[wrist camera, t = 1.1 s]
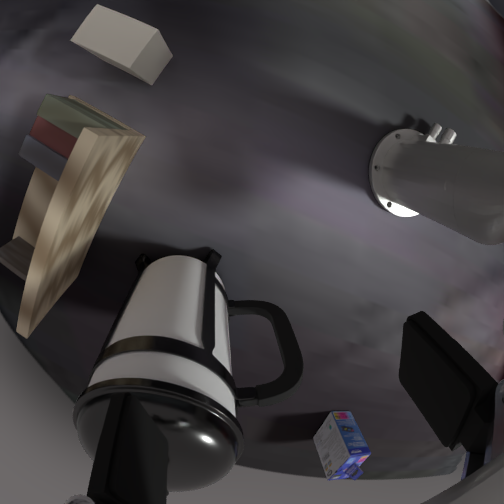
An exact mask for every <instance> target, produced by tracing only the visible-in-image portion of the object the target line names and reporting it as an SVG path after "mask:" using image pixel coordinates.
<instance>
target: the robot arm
mask: <svg viewBox="0 0 504 504" xmlns="http://www.w3.org/2000/svg"><path fill="white" fill-rule="evenodd" d="M441 130H442V127H441V126H440V125H439V124H437V123H434V124H433V126H432V127H431V129H430V132H429V133H428V134H426V135H424V134H422V133H420V132H418V131H416V130H412V129H397V130H394V131H392V132H390V133H388V134H387V135H385V136H384V137H383V138H382V139H381V140H380V141H379V142H378V144H377V145H376V147H375V149H374V151H373V153H372V156H371V160H370V164H369V181H370V185H371V190H372V192H373V194H374V196H375V198H376V200H377V201H378V203H379V204H380V205H381V206H382V207H383V208H384V209H385V210H387V211H388V212H390V213H392V214H394V215H396V216H401V217H411V216H415V215H417V214H421V215H423V216H425V217H427V218H429V219H431V220H433V221H436V222H438V223H440V224H442V225H444V226H446V227H448V228H450V229H452V230H454V231H456V232H458V233H460V234H462V235H464V236H466V237H468V238H470V239H472V240H474V241H476V242H478V243H481V244H485V245H496V244H500V243H503V242H504V152H500V151H494V150H488V149H482V148H475V147H468V146H461V145H454V144H452V143H453V141H454V140H455V138H456V133H455V132H454V131H453V130H452V129H450V128H446V129H445V131H444V133H443V134H442V136H441V139H440V141H439V142H438V143H437V142H436V140H435V139H436V137H437V136H438V135H439V133H440V131H441ZM395 135H396V137H395ZM375 166H376V168H375ZM503 333H504V321H503ZM399 380H400V382H401V384H402V386H403V387H404V388H405V390H406V391H407V393H408V394H409V396H410V397H411V398H412V400H413V401H414V403H415V404H416V406H417V407H418V409H419V410H420V411H421V413H422V414H423V416H424V417H425V419H426V420H427V422H428V423H429V425H430V426H431V428H432V429H433V431H434V432H435V434H436V435H437V437H438V438H439V440H440V441H441V443H442V444H443V445H444V446H445V447H448V446H449V448H450V449H451V451H454V450H455V449H457V448H458V447H460V446H461V445H463V446H464V448H465V449H466V451H467V452H466V458H465V464H464V468H463V473H462V477H461V481H460V482H458V483H457V484H455V485H454V486H452V487H450V488H449V489H447V490H445V491H443V492H441V493H440V494H438V495H436V496H434V497H433V498H431V499H429V500H427V501H425V502H424V503H421V504H504V379H503V380H502V381H501V382H500V383H499V384H498V383H497V382H496V381H495V380H494V379H493V378H492V377H491V376H490V374H489V373H488V372H487V371H486V370H485V369H484V368H483V367H482V366H481V365H480V364H479V363H478V362H477V361H476V360H475V359H474V358H473V357H472V356H471V355H470V354H469V353H468V352H467V351H466V350H465V349H464V348H463V347H462V346H461V345H460V344H459V343H458V342H457V341H456V340H454V339H453V338H452V337H451V336H450V335H449V334H448V333H447V332H446V331H445V330H443V329H442V328H441V327H440V326H439V325H438V324H437V323H436V322H435V321H434V320H433V319H432V318H431V317H430V316H429V315H427V314H426V313H425V312H424V311H420V312H418V313H416V314H413V315H411V316H409V317H408V318H407V321H406V322H405V323H404V325H403V337H402V349H401V359H400V368H399ZM168 450H169V445H168V441H167V438H166V437H165V436H164V434H163V433H162V432H161V430H160V429H159V428H158V426H157V425H156V424H155V422H154V421H153V420H152V418H151V417H150V416H149V414H148V413H147V411H146V410H145V409H144V407H143V406H142V404H141V403H140V401H139V400H138V399H137V397H136V396H135V395H131V394H130V393H129V392H123V393H115V394H113V395H112V396H111V399H110V403H109V406H108V410H107V414H106V417H105V421H104V425H103V429H102V432H101V435H100V438H99V442H98V446H97V450H96V455H95V459H94V463H93V468H92V472H91V477H90V482H89V487H88V492H87V496H85V495H74V496H72V497H70V498H69V499H68V500H66V502H65V503H64V504H166V494H167V468H168Z"/></svg>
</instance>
